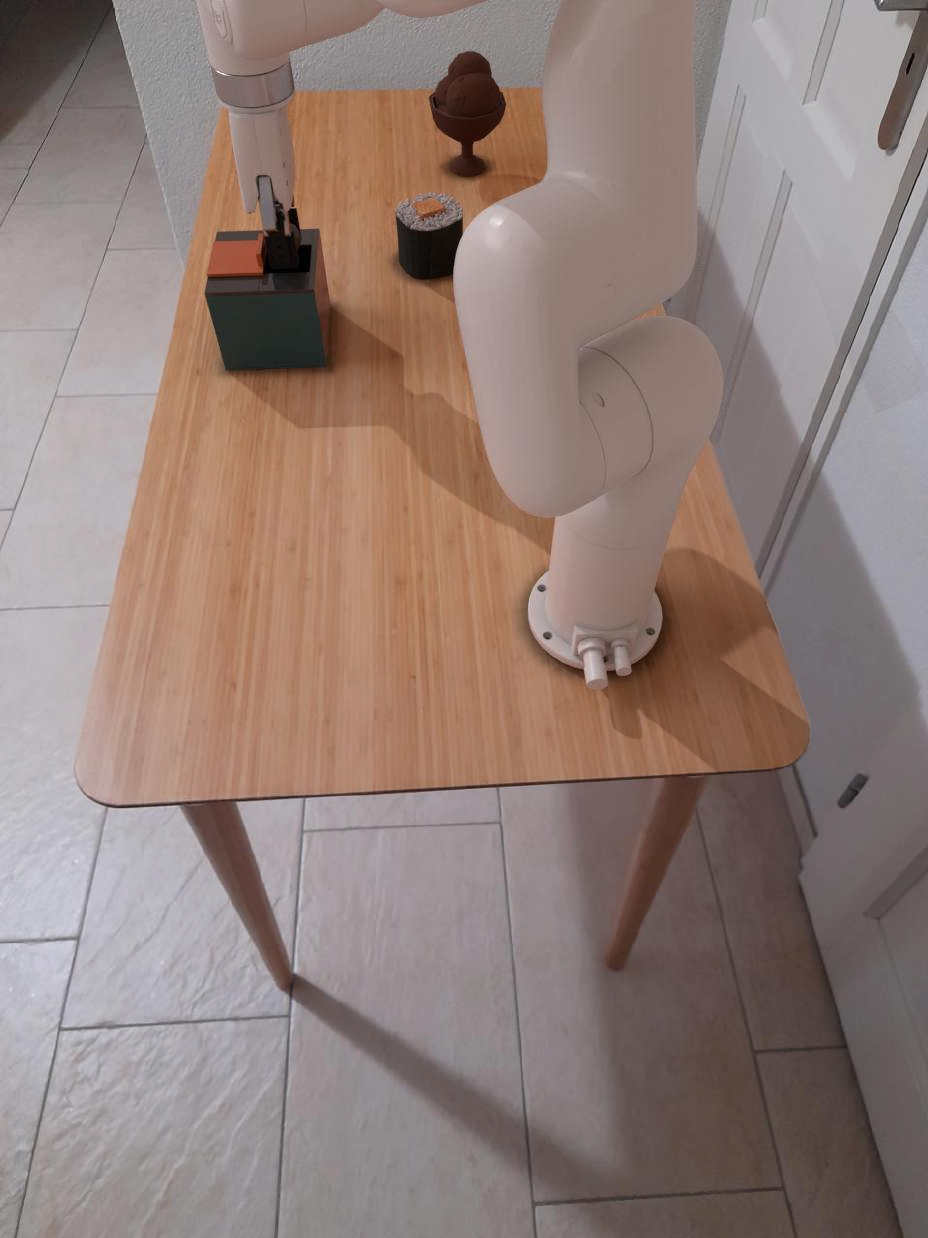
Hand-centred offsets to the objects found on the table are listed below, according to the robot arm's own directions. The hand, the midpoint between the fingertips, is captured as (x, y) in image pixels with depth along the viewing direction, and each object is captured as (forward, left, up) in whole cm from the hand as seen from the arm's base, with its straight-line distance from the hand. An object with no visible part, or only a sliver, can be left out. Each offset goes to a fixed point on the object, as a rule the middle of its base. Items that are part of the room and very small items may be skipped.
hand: (286, 253), depth 99 cm
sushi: (+15, -16, -11) cm, 25 cm away
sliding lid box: (0, +3, -11) cm, 12 cm away
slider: (0, +6, -1) cm, 6 cm away
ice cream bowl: (+39, -22, -11) cm, 46 cm away
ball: (0, 0, +2) cm, 2 cm away
